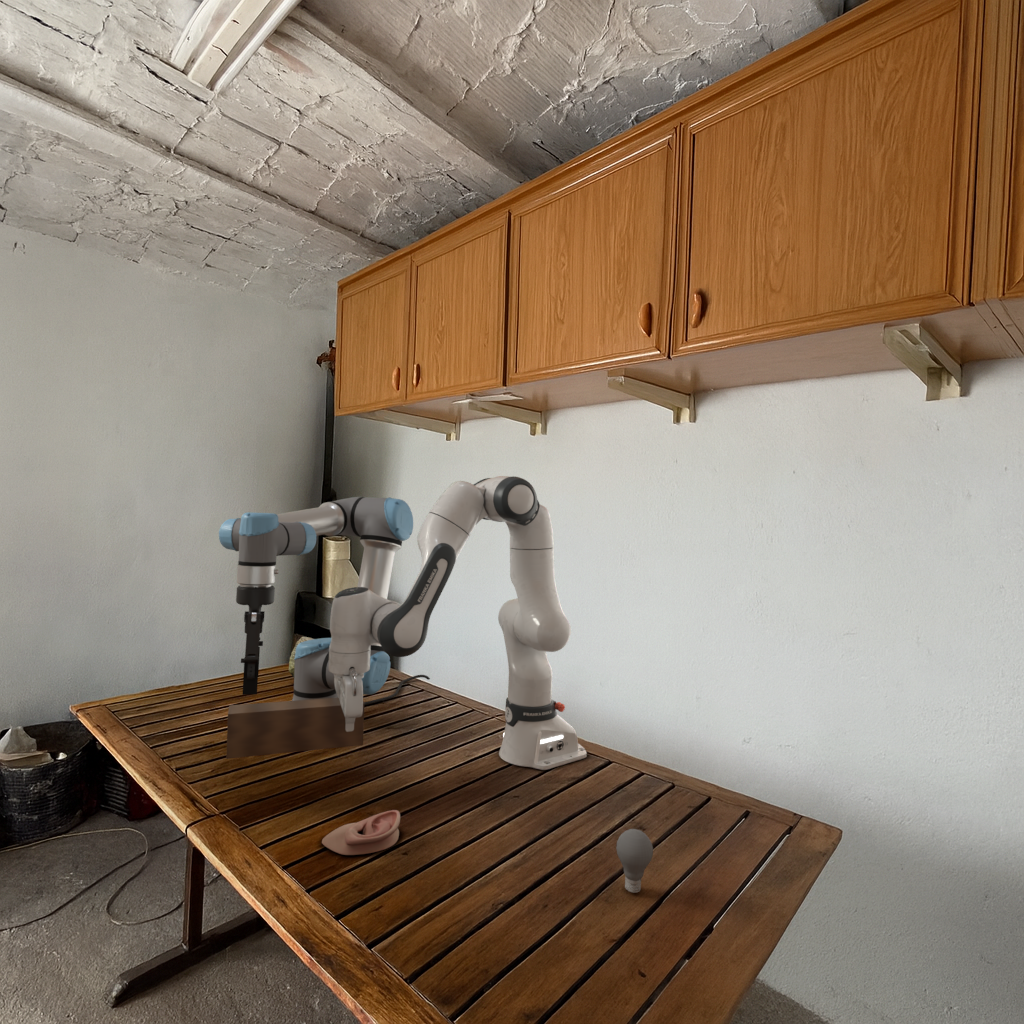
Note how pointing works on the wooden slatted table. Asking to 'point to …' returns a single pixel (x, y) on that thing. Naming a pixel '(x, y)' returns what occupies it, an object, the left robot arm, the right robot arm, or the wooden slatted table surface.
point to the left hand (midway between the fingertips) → (250, 685)
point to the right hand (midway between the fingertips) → (347, 724)
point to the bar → (289, 727)
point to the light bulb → (634, 857)
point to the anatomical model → (365, 835)
